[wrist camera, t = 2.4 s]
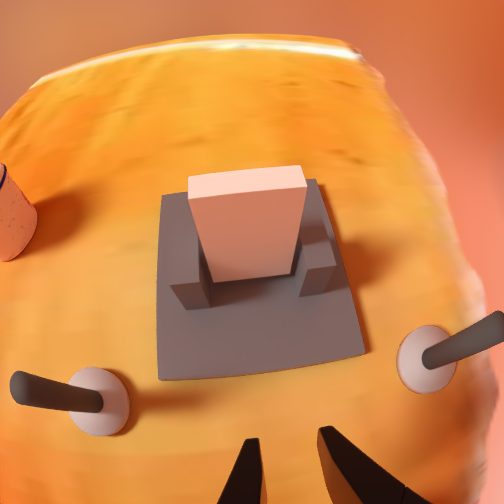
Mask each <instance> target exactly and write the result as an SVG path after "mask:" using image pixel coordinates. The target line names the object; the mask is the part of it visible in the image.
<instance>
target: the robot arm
mask: <svg viewBox="0 0 504 504" xmlns="http://www.w3.org/2000/svg"><path fill="white" fill-rule="evenodd" d="M317 448H318V452H319V457H320V461H321V466H322V470H323V475H324V479H325V483H326V487H327V490H328V493H329V495H330V498H331V500H332V503H333V504H433V503H431V502H429V501H427V500H425V499H424V498H422V497H421V496H419V495H418V494H416V493H415V492H414V491H412V490H411V489H410V488H408V487H405V485H404V484H403V483H401V482H400V481H399V480H397V479H396V478H395V477H393V476H392V475H391V474H390V473H388V472H387V471H386V470H385V469H383V468H382V467H381V466H379V465H378V464H377V463H376V462H374V461H373V460H372V459H371V458H370V457H368V456H367V455H366V454H365V453H363V452H362V451H361V450H360V449H359V448H357V447H356V446H355V445H354V444H353V443H351V442H350V441H349V440H348V439H347V438H346V437H344V436H343V435H342V434H341V433H340V432H339V431H338V430H336V429H335V428H334V427H333V426H325V427H321V428H319V429H318V437H317ZM217 504H267V492H266V484H265V477H264V470H263V463H262V455H261V448H260V442H259V439H258V438H251V439H246V440H245V441H244V443H243V446H242V448H241V450H240V453H239V455H238V457H237V460H236V462H235V464H234V467H233V469H232V471H231V474H230V476H229V478H228V480H227V483H226V485H225V487H224V489H223V491H222V494H221V496H220V498H219V500H218V502H217Z"/></svg>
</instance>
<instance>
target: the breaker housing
mask: <svg viewBox="0 0 504 504" xmlns="http://www.w3.org/2000/svg"><path fill="white" fill-rule="evenodd" d="M305 181H306V184H307V191H306V197H305V202H304V207H303V212H302V217H301V222H300V227H299V232H298V237H297V242H296V247H295V251H294V256H293V261H292V265H291V270H290V274H284V275H276V276H267V277H259V278H251V279H242V280H233V281H224V282H215V283H214V282H213V279H212V276H211V273H210V270H209V267H208V263H207V260H206V257H205V254H204V251H203V248H202V244H201V241H200V238H199V235H198V231H197V228H196V225H195V221H194V218H193V215H192V211H191V208H190V204H189V201H188V192H181V193H174V194H167V195H162V200H161V212H160V225H159V241H158V263H157V359H158V379H159V380H161V381H175V380H196V379H211V378H223V377H234V376H243V375H252V374H260V373H268V372H275V371H282V370H289V369H295V368H301V367H307V366H312V365H318V364H323V363H328V362H333V361H338V360H343V359H347V358H352V357H356V356H361V355H363V354H365V353H366V352H365V347H364V343H363V338H362V334H361V330H360V326H359V321H358V317H357V313H356V309H355V305H354V301H353V298H352V294H351V290H350V286H349V283H348V279H347V275H346V272H345V268H344V265H343V261H342V258H341V255H340V251H339V248H338V245H337V241H336V238H335V235H334V232H333V228H332V225H331V222H330V219H329V216H328V213H327V210H326V207H325V204H324V201H323V198H322V195H321V192H320V189H319V187H318V184H317V181H316V179H305Z"/></svg>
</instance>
